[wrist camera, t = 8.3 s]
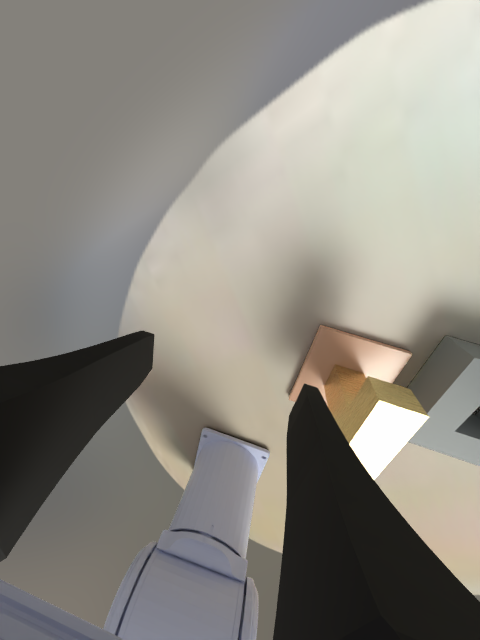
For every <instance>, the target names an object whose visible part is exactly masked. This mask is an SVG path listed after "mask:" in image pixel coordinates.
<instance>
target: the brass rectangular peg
mask: <svg viewBox="0 0 480 640" xmlns="http://www.w3.org/2000/svg"><path fill="white" fill-rule="evenodd" d="M324 388H325V394H326V400H327V406H328V408H329V410H330V412H331V413H332V415H333V417H334V419H335V421H336V422H337V424H338V426H339V428H340V429H341V431H342V433H343V434H344V436H345V438H346V439H347V441H348V443H349V444H350V446H351V447H352V449H353V450H354V452H355V454H356V455H357V457H358V458H359V460H360V461H361V463H362V464H363V466H364V467H365V468H366V470H367V471H368V473H369V474H370V475H371V477H372V478H373V479H375V478H376V477H377V476H378V475H379V474H380V472H381V471H382V470H383V469H384V468H385V467H386V466H387V464H388V463H389V462H390V461H391V460H392V459H393V457H394V456H395V455H396V454H397V453H398V452H399V451H400V449H401V448H402V447H403V446H404V445H405V444H406V443H407V441H408V440H409V439H410V438H411V437H412V436H413V434H414V433H415V432H416V431H417V430H418V429H419V428H420V426H421V425H422V424H423V423H424V422H425V421H426V420H427V418H428V417H429V416H428V415H427V413H426V412H425V410H424V409H423V407H422V406H421V404H420V403H419V401H418V400H417V398H416V397H415V395H414V394H413V392H412V391H411V389H408V388H405V387H402V386H398V385H395V384H392V383H389V382H386V381H382V380H379V379H376V378H373V377H370V376H368V377H367V378H366V376H365V374H364V373H362V372H358V371H355V370H352V369H349V368H346V367H342V366H339V365H336V364H335V365H334V367H333V369H332V371H331V373H330V375H329V377H328V379H327V381H326V383H325V385H324Z"/></svg>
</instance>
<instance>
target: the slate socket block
mask: <svg viewBox="0 0 480 640" xmlns="http://www.w3.org/2000/svg"><path fill="white" fill-rule="evenodd" d="M407 388H408V389H411V391H412V392H413V394H414V395H415V397H416V398H417V400H418V401H419V403H420V404H421V406H422V407H423V409H424V410H425V412H426V413H427V415H428V416H429V417H428V418H427V420H426V421H425V422H424V423H423V424H422V425H421V426H420V428H419V429H418V430H417V431H416V432H415V433H414V434H413V436H412V437H411V438H410V439H409V440H408V441H407V442H409V443H412V444H415V445H418V446H421V447H424V448H427V449H430V450H433V451H436V452H439V453H442V454H445V455H448V456H451V457H454V458H457V459H460V460H463V461H466V462H469V463H472V464H475V465H478V466H480V411H479V412H478V413H477V414H476V415H474V414H472V413H473V412H474V411H475V410H476V409H477V408H478V407H479V406H480V345H478V344H474V343H471V342H467V341H464V340H460V339H457V338H453V337H450V336H445V337H444V338H443V340H442V341H441V342H440V344H439V345H438V346H437V348H436V349H435V350H434V352H433V353H432V355H431V356H430V357H429V359H428V360H427V361H426V363H425V364H424V365H423V367H422V368H421V369H420V371H419V372H418V373H417V375H416V376H415V377H414V379H413V380H412V381H411V383H410V384H409V386H408V387H407Z"/></svg>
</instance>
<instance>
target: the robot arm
mask: <svg viewBox="0 0 480 640" xmlns="http://www.w3.org/2000/svg"><path fill="white" fill-rule="evenodd" d="M153 347H154V334H152V333H148V332H145V331H139V332H135V333H132V334H129V335H126V336H122V337H119V338H117V339H113V340H110V341H107V342H104V343H101V344H97V345H94V346H91V347H87V348H84V349H80V350H77V351H73V352H70V353H66V354H62V355H58V356H53V357H49V358H44V359H40V360H35V361H30V362H25V363H18V364H12V365H6V366H0V562H1V561H2V560H4V559H5V558H7V556H8V555H9V553H10V552H11V550H12V548H13V547H14V545H15V544H16V542H17V541H18V539H19V538H20V536H21V535H22V533H23V532H24V530H25V529H26V527H27V526H28V525H29V523H30V522H31V520H32V518H33V517H34V516H35V514H36V513H37V511H38V510H39V508H40V507H41V505H42V504H43V502H44V501H45V500H46V498H47V497H48V496H49V494H50V493H51V491H52V490H53V489H54V487H55V486H56V484H57V483H58V482H59V480H60V479H61V478H62V476H63V475H64V474H65V472H66V471H67V470H68V468H69V467H70V465H71V464H72V463H73V462H74V460H75V459H76V458H77V456H78V455H79V454H80V452H81V451H82V450H83V448H84V447H85V446H86V445H87V443H88V442H89V441H90V440H91V438H92V437H93V436H94V435H95V433H96V432H97V431H98V430H99V429H100V428H101V426H102V425H103V424H104V423H105V422H106V421H107V420H108V419H109V418H110V417H111V415H113V414H114V413H115V411H116V410H117V409H118V408H119V407H120V406H121V405H122V404H123V403H124V402H125V401H126V400H127V399H128V398H129V397H130V396H131V395H132V393H133V392H134V391H135V390H136V389H137V388H138V387H139V386H140V385H141V383H142V382H143V381H144V379H145V378H146V376H147V375H148V374H149V372H150V371H151V369H152V364H153ZM269 454H270V452H269V451H268V450H267V449H264V448H262V447H259V446H256V445H253V444H251V443H248V442H245V441H242V440H240V439H237V438H234V437H231V436H229V435H226V434H223V433H220V432H218V431H215V430H212V429H209V428H203V430H202V432H201V437H200V442H199V446H198V451H197V455H196V460H195V464H194V469H193V471H192V474H191V476H190V479H189V481H188V484H187V486H186V488H185V491H184V493H183V496H182V499H181V501H180V503H179V506H178V508H177V510H176V513H175V515H174V518H173V520H172V523H171V525H170V528H169V530H163V531H162V534H161V536H160V538H159V541H158V543H157V542H155V541H151V542H150V543H149V544H148V545H147V546H145V547H144V548H143V549H141V550H140V552H139V553H138V554H137V556H136V557H135V558H134V560H133V562H132V563H131V565H130V567H129V569H128V571H127V573H126V575H125V577H124V578H123V581H122V583H121V585H120V587H119V589H118V591H117V594H116V596H115V598H114V601H113V603H112V606H111V608H110V611H109V614H108V617H107V619H106V622H105V625H104V628H103V629H102V628H100V627H98V626H95V625H93V624H91V623H89V622H87V621H85V620H83V619H81V618H79V617H77V616H75V615H73V614H71V613H69V612H66V611H65V610H63V609H60V608H58V607H56V606H54V605H52V604H50V603H48V602H46V601H44V600H42V599H39V598H38V597H36V596H34V595H32V594H30V593H27V592H26V591H23V590H21V589H19V588H17V587H15V586H13V585H11V584H9V583H7V582H5V581H3V580H1V579H0V640H256V635H257V623H258V602H259V600H258V592H257V589H256V587H255V585H254V580H253V579H252V578H250V577H246V570H247V563H248V561H247V560H246V559H245V558H246V551H247V545H248V538H249V531H250V524H251V518H252V511H253V504H254V497H255V491H256V484H257V482H258V480H259V477H260V475H261V473H262V471H263V469H264V466H265V464H266V462H267V460H268V458H269ZM245 577H246V579H245ZM273 640H480V602H479V601H478V600H477V599H476V598H475V597H474V596H473V595H472V593H471V592H470V591H469V590H468V589H467V588H466V587H465V586H464V585H463V584H462V583H461V582H460V581H459V580H458V579H457V578H456V577H455V576H454V575H453V574H452V572H451V571H450V570H449V569H448V568H447V567H446V566H445V565H444V564H443V563H442V561H441V560H440V559H439V558H438V557H437V556H436V555H435V554H434V553H433V551H432V550H431V549H430V548H429V547H428V546H427V545H426V544H425V543H424V541H423V540H422V539H421V538H420V537H419V536H418V534H417V533H416V532H415V531H414V530H413V529H412V527H411V526H410V525H409V524H408V523H407V521H406V520H405V519H404V518H403V517H402V515H401V514H400V513H399V512H398V510H397V509H396V508H395V507H394V506H393V504H392V503H391V502H390V501H389V499H388V498H387V497H386V495H385V494H384V493H383V492H382V490H381V489H380V488H379V486H378V485H377V484H376V482H375V481H374V479H373V478H372V477H371V475H370V474H369V473H368V471H367V470H366V468H365V467H364V466H363V464H362V463H361V461H360V460H359V458H358V457H357V455H356V454H355V452H354V450H353V449H352V447H351V446H350V444H349V443H348V441H347V439H346V438H345V436H344V434H343V433H342V431H341V429H340V428H339V426H338V424H337V422H336V421H335V419H334V417H333V415H332V413H331V412H330V410H329V408H328V406H327V404H326V402H325V400H324V398H323V396H322V395H321V393H320V391H319V389H318V388H317V387H314V386H311V385H308V384H305V383H304V385H303V387H302V389H301V391H300V393H299V395H298V398H297V400H296V402H295V404H294V406H293V408H292V411H291V413H290V415H289V422H288V430H287V508H286V520H285V532H284V544H283V555H282V565H281V575H280V584H279V593H278V602H277V611H276V620H275V628H274V636H273Z"/></svg>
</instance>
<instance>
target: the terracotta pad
mask: <svg viewBox="0 0 480 640" xmlns="http://www.w3.org/2000/svg"><path fill="white" fill-rule="evenodd" d="M411 356H412V354H411V352H410V351H407V350H404V349H401V348H397V347H394V346H390V345H387V344H384V343H380V342H377V341H374V340H370V339H367V338H364V337H360V336H357V335H353V334H350V333H347V332H343V331H340V330H337V329H333V328H330V327H327V326H323V325H320V326H319V329H318V331H317V333H316V336H315V338H314V340H313V342H312V345H311V347H310V349H309V352H308V354H307V356H306V358H305V361H304V363H303V365H302V368H301V370H300V372H299V374H298V377H297V379H296V381H295V384H294V386H293V388H292V390H291V393H290V395H289V400H291V401H294V402H296V400H297V398H298V395H299V393H300V391H301V389H302V387H303V385H304V383H305V384H308V385H311V386H314V387H317V388H318V389H319V391H320V393H321V395H322V396H323V398H324V400H325V402H326V404H327V400H326V394H325V388H324V385H325V383H326V381H327V379H328V377H329V375H330V373H331V371H332V369H333V367H334V365H335V364H336V365H339V366H342V367H346V368H349V369H352V370H355V371H358V372H362V373H364V374H365V376H366V378H367V377H368V376H370V377H373V378H376V379H379V380H382V381H386V382H389V383H393V382H394V380H395V379H396V378H397V376H398V375H399V373H400V372H401V370H402V369H403V367H404V366H405V365H406V363H407V362H408V360H409V359H410V357H411Z"/></svg>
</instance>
